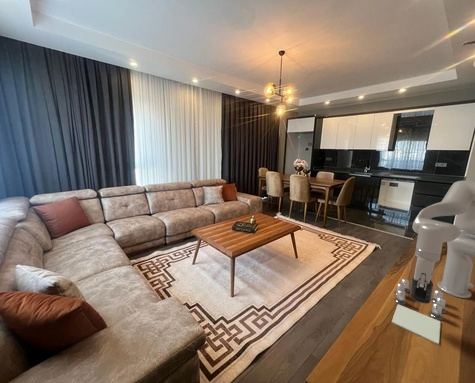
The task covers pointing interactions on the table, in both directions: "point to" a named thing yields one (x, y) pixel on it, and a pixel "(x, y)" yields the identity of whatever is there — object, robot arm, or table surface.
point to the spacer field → (437, 300)
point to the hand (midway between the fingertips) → (420, 292)
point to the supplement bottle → (428, 292)
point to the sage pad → (417, 323)
